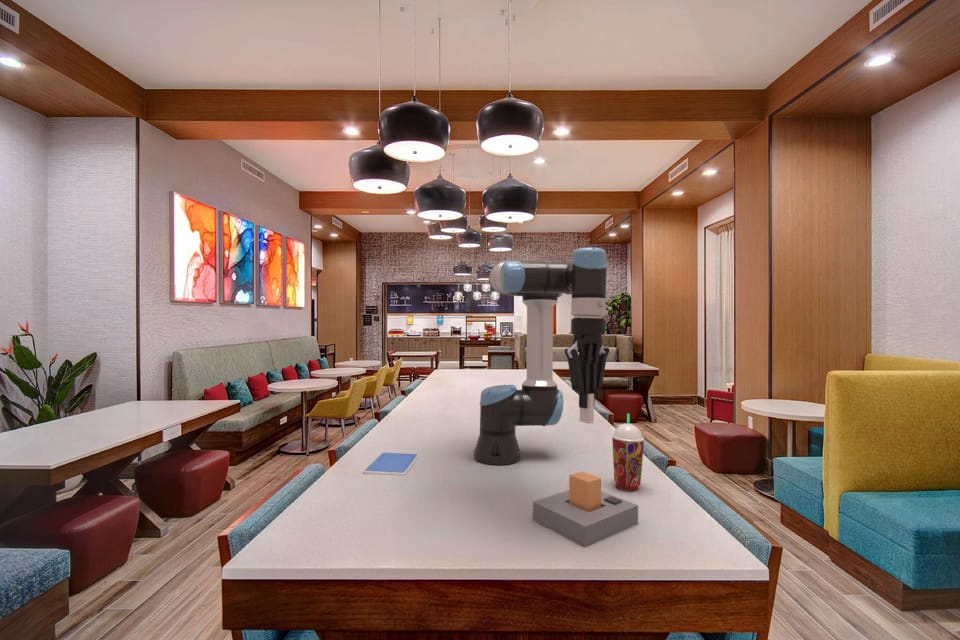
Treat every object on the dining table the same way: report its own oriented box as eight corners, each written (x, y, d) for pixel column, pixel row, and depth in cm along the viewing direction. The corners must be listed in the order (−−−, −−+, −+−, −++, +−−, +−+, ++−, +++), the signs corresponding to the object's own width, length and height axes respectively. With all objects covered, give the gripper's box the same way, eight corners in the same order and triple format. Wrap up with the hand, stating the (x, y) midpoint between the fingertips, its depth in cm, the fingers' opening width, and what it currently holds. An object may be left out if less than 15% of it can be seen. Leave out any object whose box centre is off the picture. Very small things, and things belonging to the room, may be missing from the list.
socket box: (532, 519, 101) (533, 499, 101) (584, 500, 112) (585, 482, 112) (585, 546, 89) (585, 524, 89) (637, 523, 100) (638, 503, 100)
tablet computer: (382, 455, 149) (382, 451, 149) (419, 457, 148) (419, 453, 148) (362, 475, 129) (362, 471, 129) (405, 477, 128) (405, 473, 128)
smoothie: (645, 494, 117) (647, 417, 117) (612, 491, 119) (613, 416, 119) (640, 483, 125) (642, 411, 125) (610, 480, 127) (611, 410, 127)
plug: (568, 519, 102) (569, 475, 102) (581, 514, 104) (582, 471, 104) (587, 528, 97) (588, 482, 97) (600, 522, 100) (601, 478, 100)
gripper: (582, 317, 94) (580, 429, 94) (620, 318, 102) (618, 421, 102) (555, 316, 100) (554, 422, 100) (593, 317, 108) (591, 415, 108)
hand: (586, 422), depth 101 cm, fingers closed
